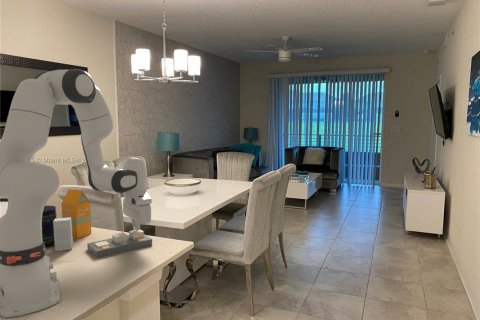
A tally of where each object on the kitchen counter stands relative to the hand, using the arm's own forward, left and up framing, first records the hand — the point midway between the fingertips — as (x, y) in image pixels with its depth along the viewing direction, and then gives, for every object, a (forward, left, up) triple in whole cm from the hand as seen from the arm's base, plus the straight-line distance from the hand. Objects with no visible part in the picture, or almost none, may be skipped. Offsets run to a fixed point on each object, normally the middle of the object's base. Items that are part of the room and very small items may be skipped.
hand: (136, 229), depth 149 cm
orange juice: (+26, +16, -6) cm, 31 cm away
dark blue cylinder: (+21, +30, -6) cm, 37 cm away
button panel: (-1, +7, -6) cm, 9 cm away
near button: (0, +14, -6) cm, 15 cm away
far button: (0, 0, -3) cm, 3 cm away
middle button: (0, +7, -3) cm, 8 cm away
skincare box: (+11, +25, -6) cm, 28 cm away
